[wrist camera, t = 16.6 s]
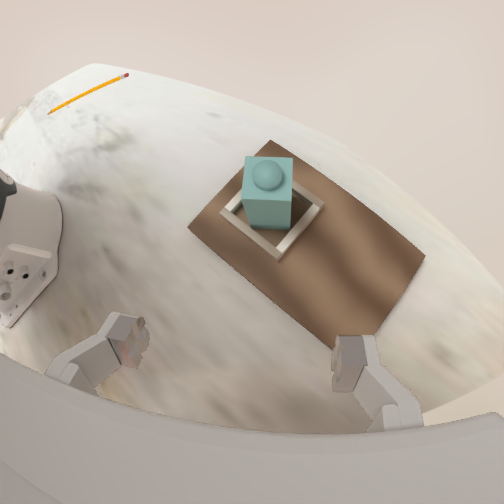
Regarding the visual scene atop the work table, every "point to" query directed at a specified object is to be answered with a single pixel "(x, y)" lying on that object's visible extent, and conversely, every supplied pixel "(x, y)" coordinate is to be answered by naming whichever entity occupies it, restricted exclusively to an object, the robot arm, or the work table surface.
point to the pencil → (88, 92)
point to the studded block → (267, 192)
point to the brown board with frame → (314, 253)
